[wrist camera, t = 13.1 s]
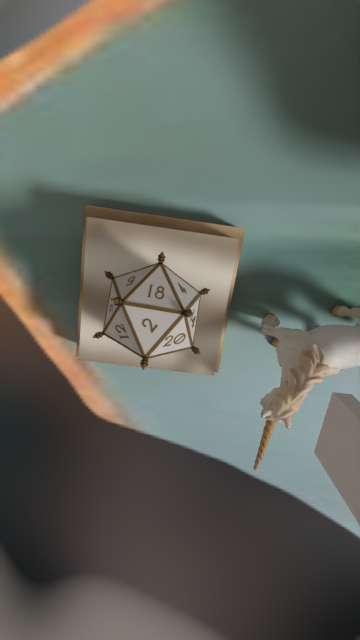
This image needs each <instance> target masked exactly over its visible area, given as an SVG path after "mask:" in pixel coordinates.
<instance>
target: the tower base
mask: <svg viewBox="0 0 360 640" xmlns="http://www.w3.org/2000/svg"><path fill="white" fill-rule="evenodd" d="M244 231H245V228H238V227H232V226H225V225H218V224H212V223H205V222H198V221H191V220H185V219H178V218H171V217H165V216H158V215H151V214H144V213H138V212H131V211H124V210H117V209H111V208H104V207H97V206H91V205H85V206H84V224H83V242H82V260H81V277H80V295H79V313H78V331H77V349H76V356H79V360H84V361H93V362H102V363H110V364H119V365H128V366H136V367H142V366H141V365H140V363H141V360H142V359H143V358H141V357H140V356H138V355H136V354H135V353H133V352H131V351H130V350H128V349H127V348H125V347H123V346H122V345H120V344H118V343H117V342H115V341H113V340H112V339H110V338H108V337H107V336H105V335H103V336H102V338H99V339H97V338H92V337H93V336H94V335H95V333H97V332H99V331H100V332H102V331H103V326H104V321H105V315H106V310H107V304H108V298H109V293H110V287H111V282H112V280H111V279H108V277H106V275H105V272H104V271H108V272H110V271H111V273H113V276H114V277H116V276H119V275H123V274H126V273H129V272H132V271H135V270H138V269H141V268H144V267H147V266H150V265H153V264H156V263H158V260H157V259H158V255H159V254H160V253H161V252H162V251H163V253H164V256H165V257H166V258H165V261H164V262H163V264H164V265H166V266H167V267H168V268H169V269H171V270H172V271H173V272H175V273H176V274H177V275H178V276H180V277H181V278H182V279H184V280H185V281H186V282H188V283H189V284H190V285H191V286H193V287H194V288H195V289H197V290H198V291H201V290H202V289H204V288H207V289H210V291H209V292H208V294H205V295H201V298H200V305H199V312H198V318H197V325H196V331H195V338H194V344H193V345H194V346H195V347H197V348H198V349H199V350H200V353H201V354H194V352H192V349H187V350H182V351H178V352H174V353H170V354H166V355H162V356H158V357H154V358H150V359H148V365H147V367H145V368H154V369H163V370H171V371H180V372H189V373H197V374H206V375H214V372H218V368H219V363H220V358H221V352H222V347H223V342H224V336H225V331H226V326H227V321H228V315H229V310H230V305H231V300H232V294H233V289H234V284H235V278H236V273H237V268H238V263H239V257H240V252H241V247H242V242H243V236H244Z"/></svg>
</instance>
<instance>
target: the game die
mask: <svg viewBox="0 0 360 640" xmlns="http://www.w3.org/2000/svg"><path fill="white" fill-rule="evenodd" d="M165 258H166V257H165V256H164V253H163V251H162V252H161V253H160V254H159V255H158V259H157V260H158V263H156V264H153V265H150V266H147V267H144V268H141V269H138V270H135V271H132V272H129V273H126V274H123V275H119V276H116V277H114V276H113V273H111V271H110V272H108V271H104V272H105V275H106V277H108V279H111V280H112V282H111V287H110V293H109V298H108V304H107V310H106V315H105V321H104V326H103V331H102V332H100V331H99V332H97V333H95V335H94V336H93V337H92V338H97V339H99V338H102V336H103V335H105V336H107V337H108V338H110V339H112V340H113V341H115V342H117V343H118V344H120V345H122V346H123V347H125V348H127V349H128V350H130V351H131V352H133V353H135V354H136V355H138V356H140V357H141V358H143V359H142V360H141V363H140V365H141V366H142V368H143V369H144V368H145V367H147V365H148V359H150V358H154V357H158V356H162V355H166V354H170V353H174V352H178V351H182V350H187V349H192V352H194V354H201V353H200V350H199V349H198V348H197V347H195V346H194V345H193V344H194V338H195V331H196V325H197V318H198V312H199V305H200V298H201V295H205V294H208V292H209V291H210V289H207V288H204V289H202V290H201V291H198V290H197V289H195V288H194V287H193V286H191V285H190V284H189V283H188V282H186V281H185V280H184V279H182V278H181V277H180V276H178V275H177V274H176V273H175V272H173V271H172V270H171V269H169V268H168V267H167V266H166V265H164V264H163V262H164V261H165Z"/></svg>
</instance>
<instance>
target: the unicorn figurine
mask: <svg viewBox="0 0 360 640" xmlns="http://www.w3.org/2000/svg"><path fill="white" fill-rule="evenodd" d="M332 313H333V315H335V316H340V317H344V316H351V317H357V318H359V319H360V307H358V308H356V307H353V308H352V309H348V308H347V307H346V306H342V305H336V306H335V307H334V308H333V310H332ZM279 324H280V320H278V318H277V317H275V315H274V314H273V313H270V314H268V315H266V316H265V317H264V319H263V321H262V327H261V331H262V333H263V334H266V335H270V336H273V337H275V339H274V340H273V341H272V345H273V346H274V347H277V349H276V351H277V354H278V361H279V365H280V366H281V367H282V376H281V383H280V387H279V388H274V389H273V390H272V391H271V393H269V394H267V395H266V396H265V397H264V398H262V399H261V401H260V403H261V405H262V406H263V408H264V409H263V410H262V412H261V417H262V418H264V417H265V418H266V419H267V421H266V426H265V427H264V430H263V435H262V440H261V442H260V447H259V449H258V454H257V457H256V461H255V465H254V470H255V471H257V470H258V469H259V465H260V464H261V460H262V458H263V454H264V453H265V449H266V447H267V445H268V441H269V439H270V435H271V434H272V432H273V428H274V427H275V424H276V422H277V423H281V422H284V423H285V425H286V428H287V429H289V428H290V427H291V424H292V420H291V414H294V413H296V412H297V411H298V410H299V409H300V405H301V404H302V403H303V401H304V398H305V397H306V396H307V394H308V391H309V390H311V389H312V387H313V383H315V384H320V383H322V382H323V377H324V376H328V375H334V374H337V373H339V371H340V369H343V368H350V367H355V366H360V320H359V321H358V322H357V323H356V325H355V326H346V325H325V326H321V327H317V328H314V329H312V330H310V331H308V332H306V331H303V330H300V329H290V328H275V327H277V326H278V325H279Z"/></svg>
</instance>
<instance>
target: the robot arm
mask: <svg viewBox="0 0 360 640" xmlns="http://www.w3.org/2000/svg"><path fill="white" fill-rule="evenodd" d="M314 453H315V454H316V456H317V458H318V459H319V461H320V462H321V464H322V466H323V467H324V469H325V470H326V472H327V474H328V475H329V477H330V478H331V480H332V482H333V483H334V485H335V486H336V488H337V490H338V491H339V493H340V494H341V496H342V498H343V499H344V501H345V502H346V504H347V506H348V507H349V509H350V510H351V512H352V514H353V515H354V517H355V518H356V520H357V522H358V523H359V525H360V402H359V401H358V400H357V399H356V398H355V397H354V396H353V395H352V394H343V393H335V392H333V393H332V396H331V399H330V402H329V406H328V409H327V412H326V415H325V418H324V422H323V425H322V428H321V431H320V435H319V438H318V441H317V444H316V448H315V451H314Z"/></svg>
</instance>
